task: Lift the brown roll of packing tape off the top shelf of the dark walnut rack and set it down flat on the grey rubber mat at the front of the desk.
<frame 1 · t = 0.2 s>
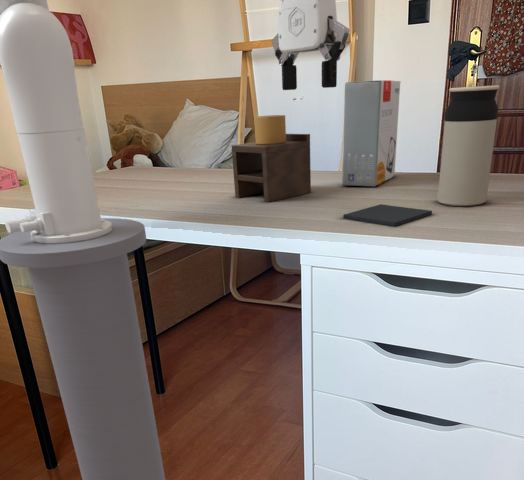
hand: (308, 88, 94), 19 cm above the table, tool pointing down, fingers open, 9 cm apart
rack: (273, 194, 108), on the table
travel mug: (461, 203, 92), on the table
hard drive box: (369, 182, 117), on the table
tape roll: (270, 142, 104), point 10 cm above the table, touching rack
mat: (387, 216, 85), on the table
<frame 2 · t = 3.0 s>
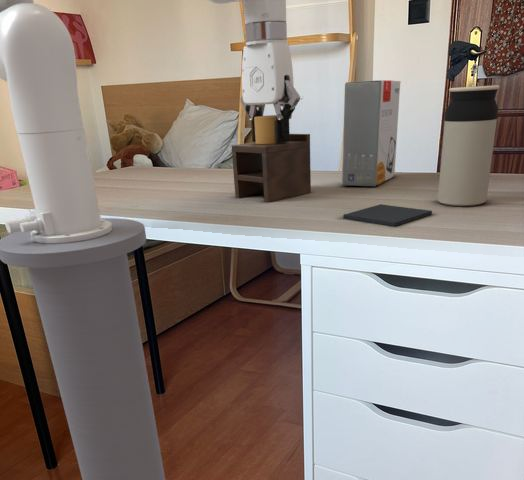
hand: (270, 140, 104), 10 cm above the table, tool pointing down, fingers closed on tape roll, 6 cm apart
tape roll: (270, 142, 104), point 10 cm above the table, touching gripper, rack
everything else where it was.
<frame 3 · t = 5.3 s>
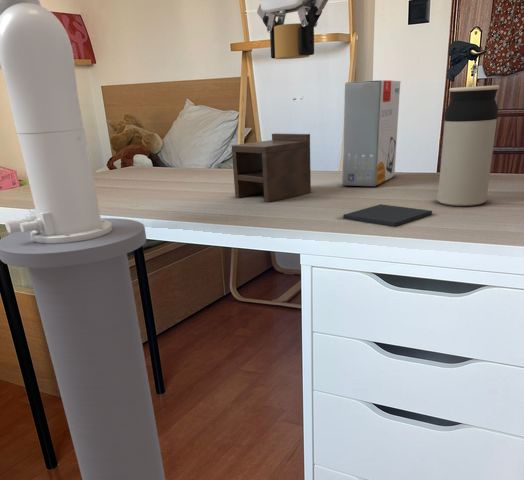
hand: (292, 55, 92), 25 cm above the table, tool pointing down, fingers closed on tape roll, 6 cm apart
tape roll: (292, 57, 92), point 24 cm above the table, touching gripper
everything else where it was.
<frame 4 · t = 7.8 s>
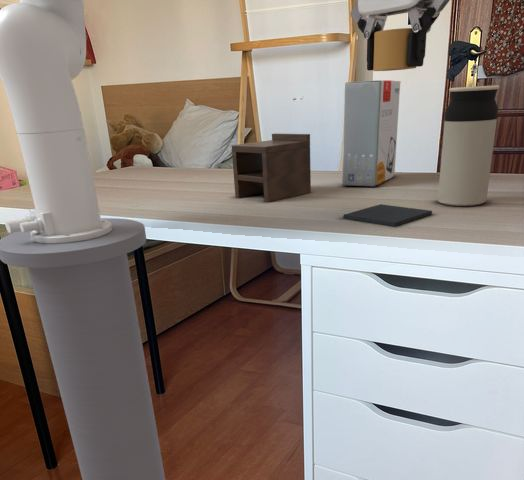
hand: (394, 67, 76), 21 cm above the table, tool pointing down, fingers closed on tape roll, 6 cm apart
tape roll: (394, 69, 76), point 21 cm above the table, touching gripper
everything else where it was.
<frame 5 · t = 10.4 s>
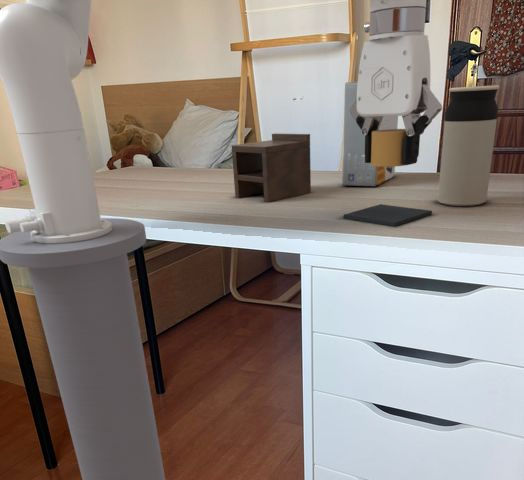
hand: (390, 161, 81), 8 cm above the table, tool pointing down, fingers closed on tape roll, 6 cm apart
tape roll: (390, 164, 81), point 8 cm above the table, touching gripper
everything else where it was.
when the fingers open (1 cm above the table, at t = 12.6 s): tape roll stays where it is, resting on mat.
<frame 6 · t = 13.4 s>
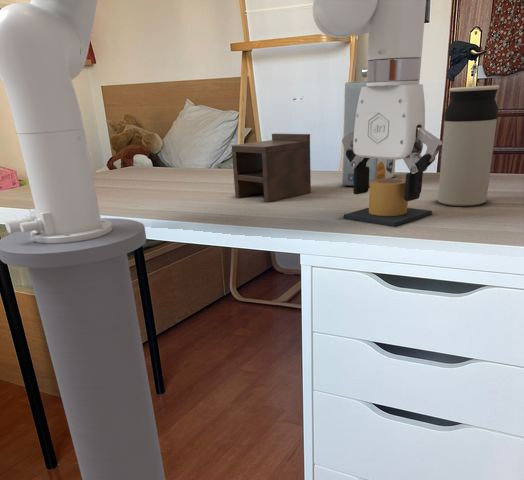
hand: (385, 196, 83), 3 cm above the table, tool pointing down, fingers open, 9 cm apart
tape roll: (387, 212, 85), point 1 cm above the table, touching mat
everything else where it was.
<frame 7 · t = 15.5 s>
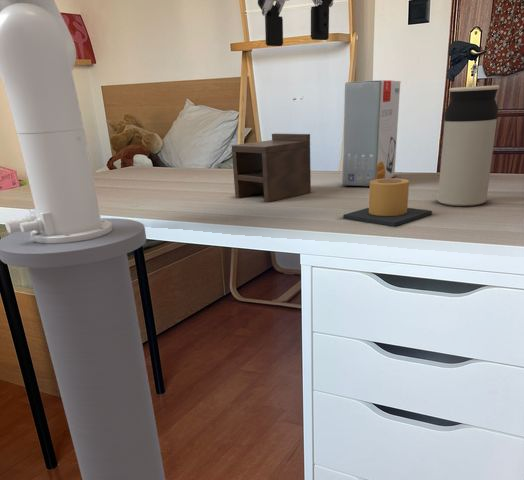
hand: (296, 42, 80), 25 cm above the table, tool pointing down, fingers open, 9 cm apart
nothing on the table moved.
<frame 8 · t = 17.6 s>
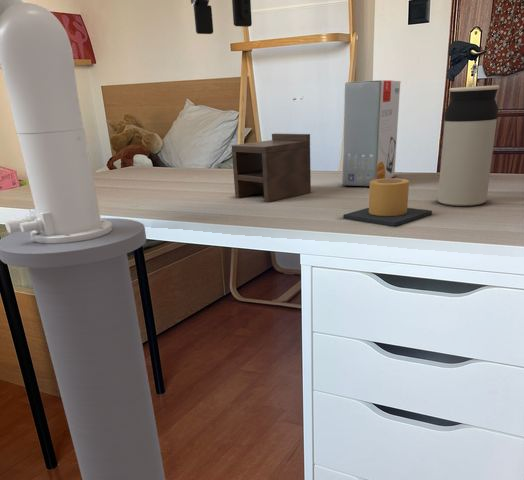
hand: (223, 30, 84), 28 cm above the table, tool pointing down, fingers open, 9 cm apart
nothing on the table moved.
at the end: tape roll 0.1 cm off-centre on the mat, point 0.6 cm above the mat's base; tape roll tilted 0°; tape roll touching mat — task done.
